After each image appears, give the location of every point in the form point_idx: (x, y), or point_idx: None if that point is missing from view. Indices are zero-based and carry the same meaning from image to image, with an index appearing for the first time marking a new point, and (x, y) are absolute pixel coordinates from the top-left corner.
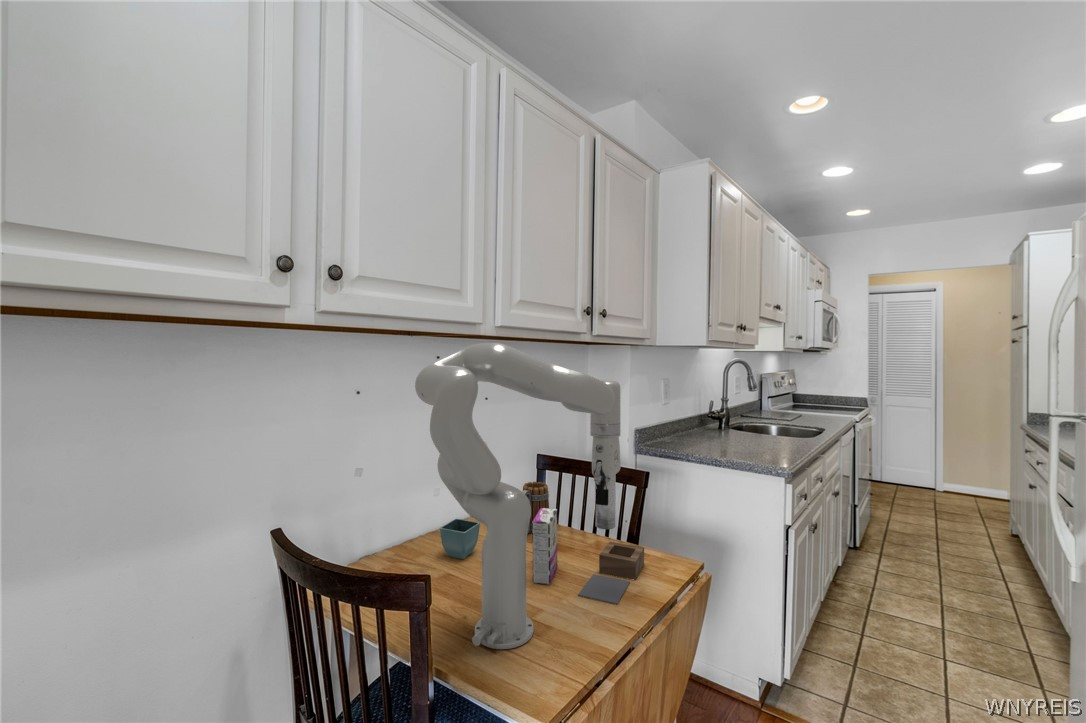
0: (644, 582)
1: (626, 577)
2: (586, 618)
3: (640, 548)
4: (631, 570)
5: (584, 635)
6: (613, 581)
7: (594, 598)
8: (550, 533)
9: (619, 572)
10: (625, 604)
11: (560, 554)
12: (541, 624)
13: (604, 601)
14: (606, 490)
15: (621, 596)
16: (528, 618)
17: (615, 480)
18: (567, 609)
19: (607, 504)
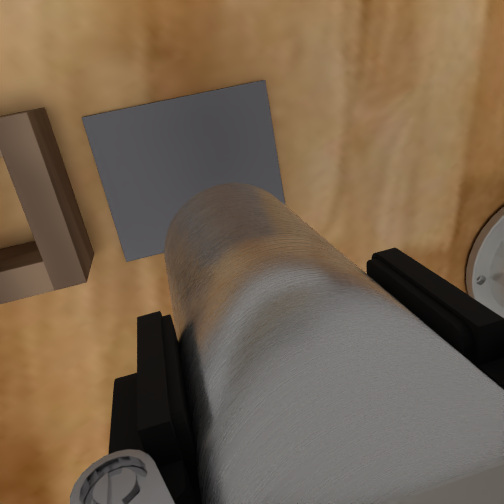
0: (32, 66)
1: (56, 147)
2: (385, 125)
3: None
4: (43, 129)
5: (462, 82)
6: (128, 171)
7: (278, 164)
8: None
9: (64, 179)
10: (243, 56)
11: (62, 437)
12: (464, 211)
13: (271, 128)
14: (496, 328)
15: (209, 91)
16: (486, 242)
17: (337, 390)
18: (369, 199)
19: (396, 251)
